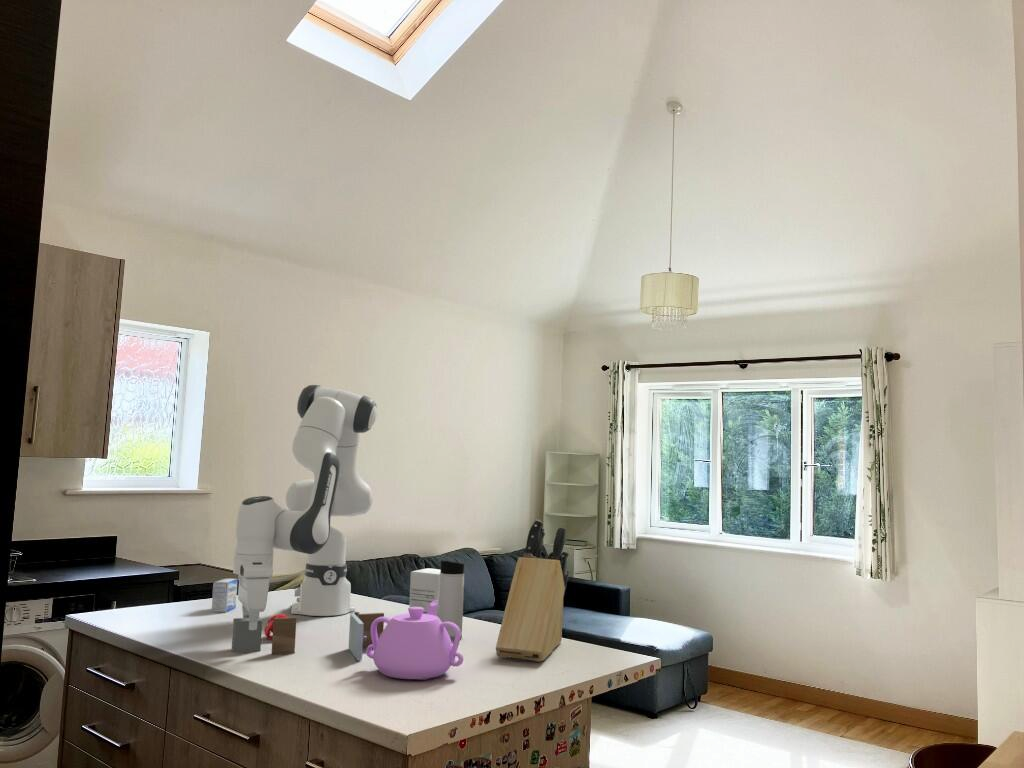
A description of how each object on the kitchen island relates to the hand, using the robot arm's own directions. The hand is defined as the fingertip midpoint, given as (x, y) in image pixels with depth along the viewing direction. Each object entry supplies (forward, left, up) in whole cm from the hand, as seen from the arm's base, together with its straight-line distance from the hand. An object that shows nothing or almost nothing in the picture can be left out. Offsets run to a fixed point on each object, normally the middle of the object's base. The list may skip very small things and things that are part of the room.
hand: (249, 626), depth 187 cm
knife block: (+17, +67, -6) cm, 69 cm away
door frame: (+5, +17, -6) cm, 18 cm away
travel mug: (+1, +50, -6) cm, 50 cm away
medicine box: (-54, 0, -6) cm, 54 cm away
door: (+11, +23, -5) cm, 26 cm away
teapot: (+29, +32, -6) cm, 44 cm away
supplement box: (-17, +51, -6) cm, 54 cm away
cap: (-12, +9, -6) cm, 16 cm away
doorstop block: (-1, 0, -6) cm, 6 cm away
